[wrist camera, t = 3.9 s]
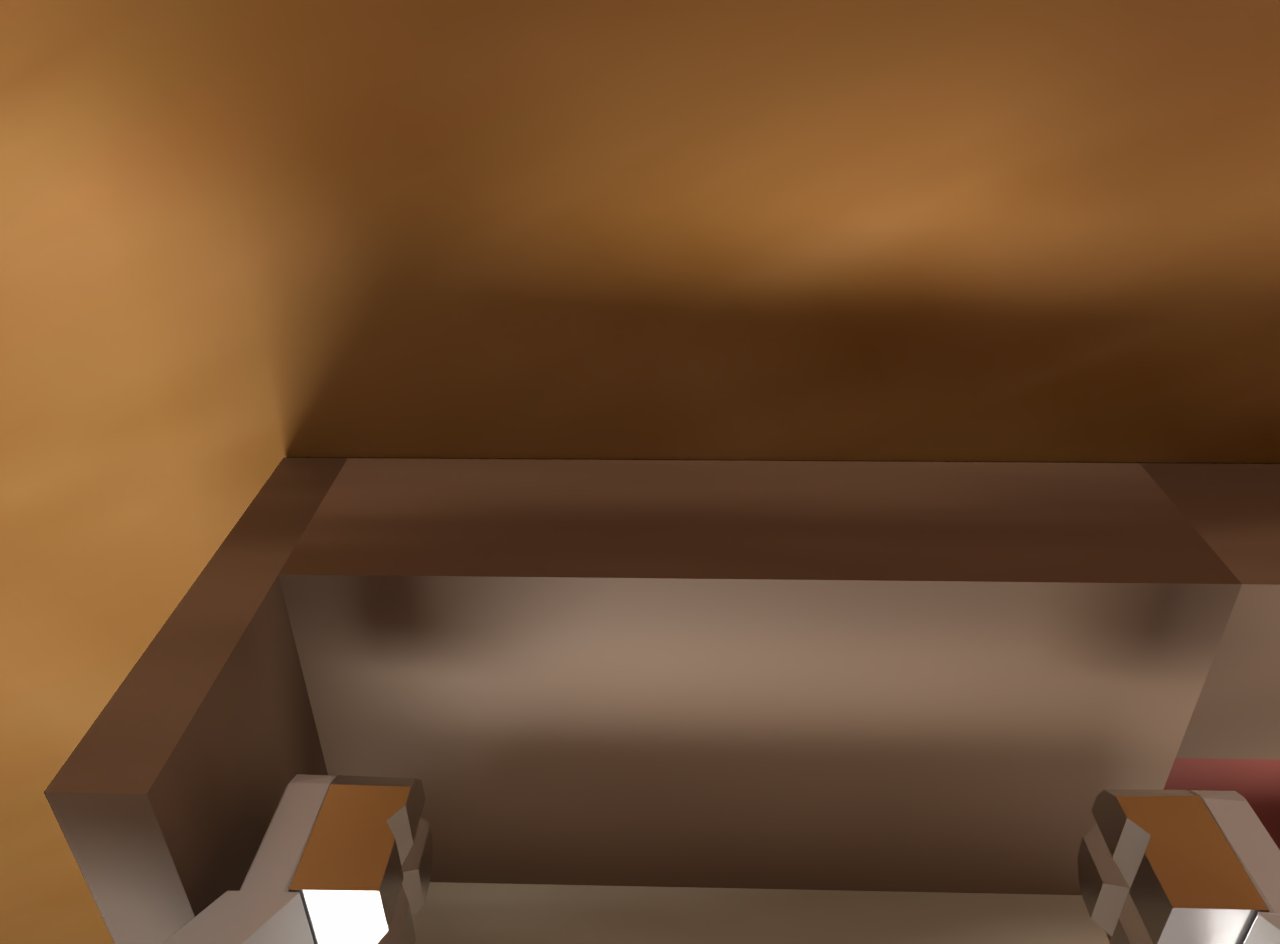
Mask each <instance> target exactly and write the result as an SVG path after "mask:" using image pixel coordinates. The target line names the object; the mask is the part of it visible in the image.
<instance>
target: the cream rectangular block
mask: <svg viewBox="0 0 1280 944" xmlns="http://www.w3.org/2000/svg"><path fill="white" fill-rule="evenodd" d="M412 921H413V926H414V931H415V937H416V940H415V944H1109V943H1110V942H1109V940H1108V937H1107V935H1106V933H1105V930H1104V929H1102V928H1101V927H1100V926H1099V925H1098V924H1097V923H1095V922H1094V921H1093V920H1092V919H1091V918H1090V915H1089V913H1088V910H1087V908H1086V905H1085V903H1084V900H1083V897H1082V895H1044V894H994V893H944V892H895V891H845V890H796V889H746V888H697V887H647V886H597V885H548V884H498V883H449V882H430V884H429V888H428V892H427V896H426V901H425V904H424V905H423V906H422V907H421V908H420V909H419V910H418V911H417V912H416V913H415V914H414V915H413V916H412Z"/></svg>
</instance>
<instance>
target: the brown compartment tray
mask: <svg viewBox="0 0 1280 944" xmlns="http://www.w3.org/2000/svg"><path fill="white" fill-rule="evenodd" d="M297 774H307V775H335V776H337V775H345V776H368V777H391V778H414V779H419V780H422V785H423V789H424V794H425V798H426V799H425V803H424V807H423V810H422V814H421V817H422V818H423V819H425V820H426V821H427V822H428V823H429V824H430V827H431V833H432V846H433V859H432V868H431V877H430V882H449V883H498V884H548V885H597V886H647V887H697V888H746V889H796V890H845V891H895V892H944V893H994V894H1044V895H1082V893H1081V889H1080V885H1079V881H1078V860H1077V856H1078V852H1079V849H1080V845H1081V841H1082V838H1083V836H1084V835H1086V834H1087V833H1088V832H1090V831H1091V830H1092V829H1094V828H1095V827H1097V826H1098V825H1097V822H1096V820H1095V818H1094V816H1093V814H1092V811H1091V810H1092V808H1093V805H1094V802H1095V799H1096V796H1097V795H1098V794H1099V793H1101V792H1102V791H1103V790H1104V789H1149V790H1187V791H1191V790H1205V791H1236V792H1238V793H1239V794H1240V795H1242V796H1243V797H1244V798H1245V799H1246V800H1247V802H1248V803H1249V805H1250V806H1251V808H1252V809H1253V811H1254V812H1255V814H1256V815H1257V817H1258V818H1259V820H1260V821H1261V823H1262V824H1263V826H1264V827H1265V829H1266V830H1267V832H1268V833H1269V835H1270V836H1271V838H1272V839H1273V841H1274V842H1275V844H1276V845H1277V847H1278V848H1279V850H1280V464H1191V463H1033V462H876V461H718V460H560V459H402V458H283V460H282V461H281V462H280V464H279V465H278V466H277V468H276V469H275V471H274V472H273V473H272V475H271V476H270V478H269V479H268V480H267V482H266V483H265V485H264V486H263V487H262V489H261V490H260V492H259V493H258V494H257V496H256V497H255V499H254V500H253V501H252V503H251V504H250V506H249V507H248V508H247V510H246V511H245V513H244V514H243V515H242V517H241V518H240V519H239V521H238V522H237V524H236V525H235V526H234V528H233V529H232V531H231V532H230V533H229V535H228V536H227V538H226V539H225V540H224V542H223V543H222V545H221V546H220V547H219V549H218V550H217V552H216V553H215V554H214V556H213V557H212V559H211V560H210V561H209V563H208V564H207V566H206V567H205V568H204V570H203V571H202V572H201V574H200V575H199V577H198V578H197V579H196V581H195V582H194V584H193V585H192V586H191V588H190V589H189V591H188V592H187V593H186V595H185V596H184V598H183V599H182V600H181V602H180V603H179V605H178V606H177V607H176V609H175V610H174V612H173V613H172V614H171V616H170V617H169V619H168V620H167V621H166V623H165V624H164V625H163V627H162V628H161V630H160V631H159V632H158V634H157V635H156V637H155V638H154V639H153V641H152V642H151V644H150V645H149V646H148V648H147V649H146V651H145V652H144V653H143V655H142V656H141V658H140V659H139V660H138V662H137V663H136V665H135V666H134V667H133V669H132V670H131V672H130V673H129V674H128V676H127V677H126V678H125V680H124V681H123V683H122V684H121V685H120V687H119V688H118V690H117V691H116V692H115V694H114V695H113V697H112V698H111V699H110V701H109V702H108V704H107V705H106V706H105V708H104V709H103V711H102V712H101V713H100V715H99V716H98V718H97V719H96V720H95V722H94V723H93V725H92V726H91V727H90V729H89V730H88V731H87V733H86V734H85V736H84V737H83V738H82V740H81V741H80V743H79V744H78V745H77V747H76V748H75V750H74V751H73V752H72V754H71V755H70V757H69V758H68V759H67V761H66V762H65V764H64V765H63V766H62V768H61V769H60V771H59V772H58V773H57V775H56V776H55V778H54V779H53V780H52V782H51V783H50V784H49V786H48V787H47V789H46V790H45V791H44V793H45V796H46V798H47V800H48V802H49V804H50V806H51V808H52V810H53V813H54V815H55V817H56V819H57V821H58V823H59V825H60V828H61V830H62V832H63V834H64V836H65V838H66V840H67V842H68V845H69V847H70V849H71V851H72V853H73V855H74V857H75V860H76V862H77V864H78V866H79V868H80V870H81V872H82V875H83V877H84V879H85V881H86V883H87V885H88V887H89V889H90V892H91V894H92V896H93V898H94V900H95V902H96V904H97V907H98V909H99V911H100V913H101V915H102V917H103V919H104V921H105V924H106V926H107V928H108V930H109V932H110V934H111V936H112V939H113V941H114V943H115V944H162V943H164V942H165V941H166V940H167V939H169V938H170V937H171V936H172V935H173V934H175V933H176V932H177V931H178V930H180V929H181V928H182V927H183V926H185V925H186V924H187V923H188V922H189V921H191V920H192V919H193V918H194V917H196V916H197V915H198V914H199V913H200V912H202V911H203V910H204V909H205V908H207V907H208V906H209V905H210V904H211V903H213V902H214V901H215V900H216V899H218V898H219V897H220V896H221V895H222V894H224V893H225V892H226V891H240V888H241V886H242V884H243V882H244V880H245V877H246V875H247V873H248V871H249V868H250V866H251V864H252V862H253V860H254V857H255V855H256V853H257V851H258V848H259V846H260V844H261V842H262V840H263V837H264V835H265V833H266V831H267V828H268V826H269V824H270V822H271V820H272V817H273V815H274V813H275V811H276V808H277V806H278V804H279V802H280V800H281V797H282V795H283V793H284V791H285V788H286V786H287V785H288V784H289V783H290V781H291V780H292V779H293V778H294V777H295V776H296V775H297ZM1105 933H1106V935H1107V937H1108V940H1109V942H1110V941H1111V938H1112V936H1110V935H1109V934H1108V933H1107V932H1106V931H1105Z"/></svg>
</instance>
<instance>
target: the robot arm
mask: <svg viewBox="0 0 1280 944" xmlns="http://www.w3.org/2000/svg"><path fill="white" fill-rule="evenodd" d="M425 799H426V798H425V794H424V789H423V785H422V780H419V779H414V778H391V777H368V776H345V775H337V776H335V775H307V774H297V775H296V776H295V777H294V778H293V779H292V780H291V781H290V783H289V784H288V785H287V786H286V788H285V791H284V793H283V795H282V797H281V800H280V802H279V804H278V806H277V808H276V811H275V813H274V815H273V817H272V820H271V822H270V824H269V826H268V828H267V831H266V833H265V835H264V837H263V840H262V842H261V844H260V846H259V848H258V851H257V853H256V855H255V857H254V860H253V862H252V864H251V866H250V868H249V871H248V873H247V875H246V877H245V880H244V882H243V884H242V886H241V888H240V891H226V892H225V893H224V894H222V895H221V896H220V897H219V898H218V899H216V900H215V901H214V902H213V903H211V904H210V905H209V906H208V907H207V908H205V909H204V910H203V911H202V912H200V913H199V914H198V915H197V916H196V917H194V918H193V919H192V920H191V921H189V922H188V923H187V924H186V925H185V926H183V927H182V928H181V929H180V930H178V931H177V932H176V933H175V934H173V935H172V936H171V937H170V938H169V939H167V940H166V941H165V942H164V943H162V944H415V940H416V937H415V931H414V926H413V921H412V916H413V915H414V914H415V913H416V912H417V911H418V910H419V909H420V908H421V907H422V906H423V905H424V904H425V901H426V896H427V892H428V888H429V884H430V877H431V868H432V859H433V846H432V833H431V827H430V824H429V823H428V822H427V821H426V820H425V819H423V818H422V817H421V814H422V810H423V807H424V803H425ZM1091 811H1092V814H1093V816H1094V818H1095V820H1096V822H1097V825H1098V826H1097V827H1095V828H1094V829H1092V830H1091V831H1090V832H1088V833H1087V834H1086V835H1084V836H1083V838H1082V841H1081V845H1080V849H1079V852H1078V856H1077V860H1078V881H1079V885H1080V889H1081V893H1082V897H1083V900H1084V903H1085V905H1086V908H1087V910H1088V913H1089V915H1090V918H1091V919H1092V920H1093V921H1094V922H1095V923H1097V924H1098V925H1099V926H1100V927H1101V928H1102V929H1104V930H1105V931H1106V932H1107V933H1108V934H1109V935H1110V936H1112V938H1111V941H1110V943H1109V944H1280V850H1279V848H1278V847H1277V845H1276V844H1275V842H1274V841H1273V839H1272V838H1271V836H1270V835H1269V833H1268V832H1267V830H1266V829H1265V827H1264V826H1263V824H1262V823H1261V821H1260V820H1259V818H1258V817H1257V815H1256V814H1255V812H1254V811H1253V809H1252V808H1251V806H1250V805H1249V803H1248V802H1247V800H1246V799H1245V798H1244V797H1243V796H1242V795H1240V794H1239V793H1238V792H1236V791H1205V790H1191V791H1187V790H1149V789H1104V790H1103V791H1102V792H1101V793H1099V794H1098V795H1097V796H1096V799H1095V802H1094V805H1093V808H1092V810H1091Z"/></svg>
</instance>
